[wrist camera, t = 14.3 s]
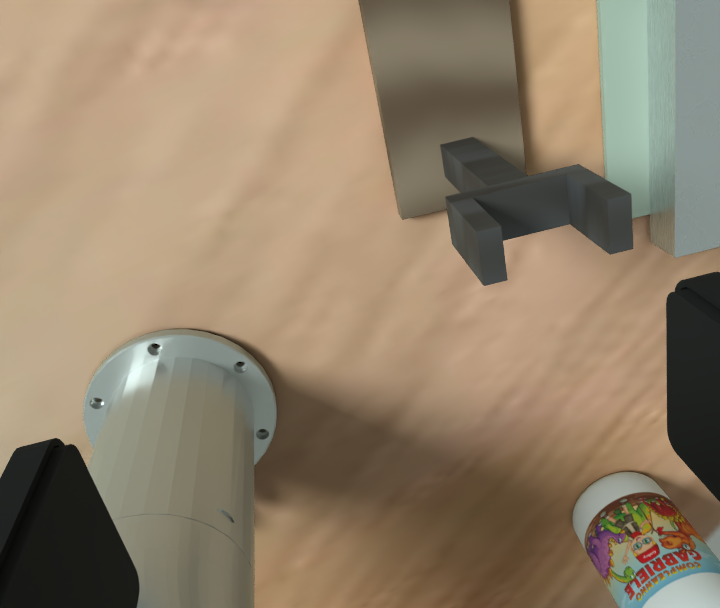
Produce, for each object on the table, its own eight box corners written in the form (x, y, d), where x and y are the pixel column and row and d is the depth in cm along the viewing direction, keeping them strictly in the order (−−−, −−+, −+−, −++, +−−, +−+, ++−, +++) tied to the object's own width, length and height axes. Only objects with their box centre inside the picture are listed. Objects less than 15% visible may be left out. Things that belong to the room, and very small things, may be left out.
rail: (692, 231, 46) (719, 246, 44) (650, 241, 46) (674, 257, 44) (699, -195, 36) (735, -210, 33) (644, -183, 36) (675, -197, 33)
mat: (736, 190, 46) (739, 191, 46) (607, 222, 46) (609, 223, 45) (750, -162, 37) (755, -163, 37) (590, -126, 37) (593, -127, 37)
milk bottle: (677, 497, 57) (870, 732, 39) (607, 555, 59) (762, 806, 41) (621, 452, 54) (803, 684, 36) (550, 515, 56) (690, 766, 38)
